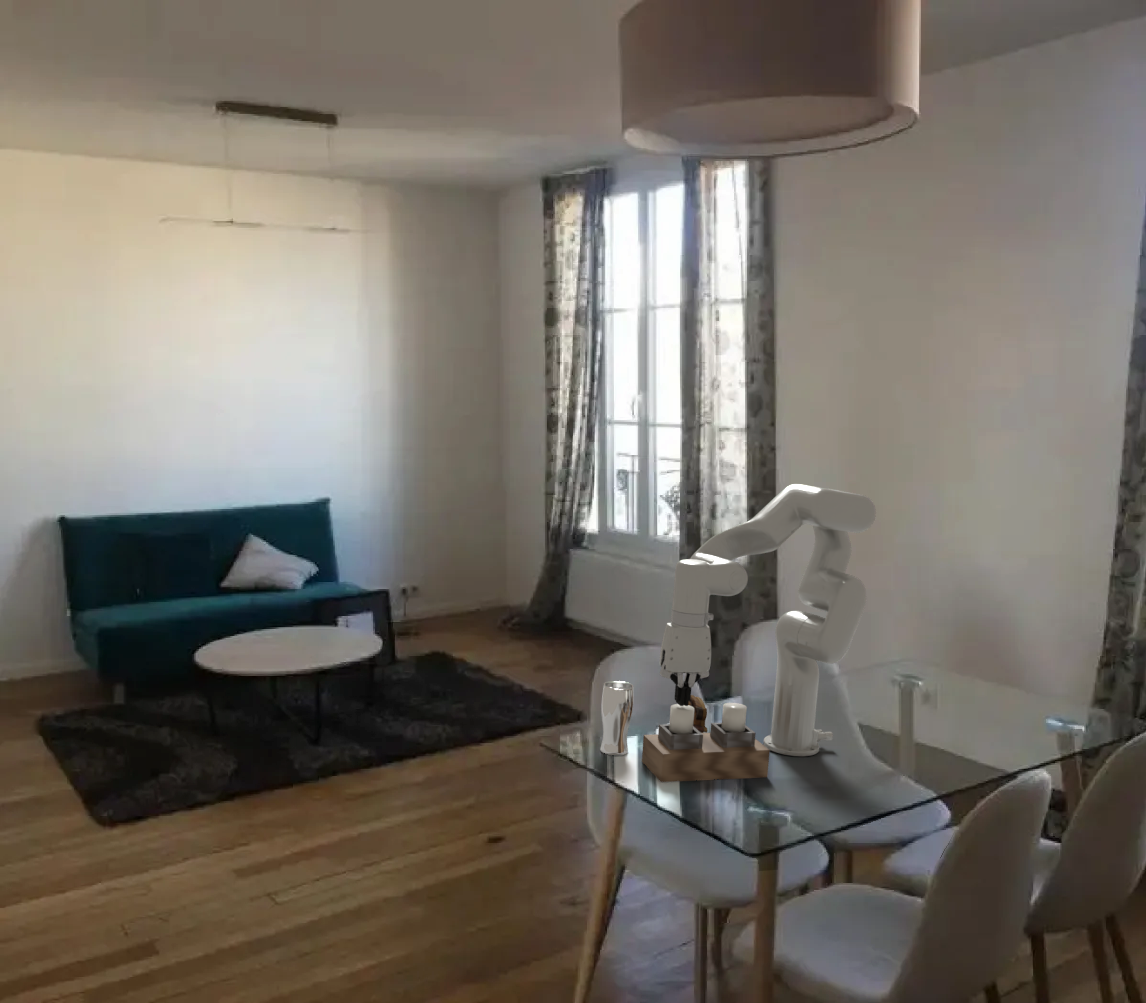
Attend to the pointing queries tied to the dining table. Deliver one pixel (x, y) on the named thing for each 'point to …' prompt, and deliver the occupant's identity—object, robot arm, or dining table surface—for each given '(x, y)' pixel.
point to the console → (705, 755)
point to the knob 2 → (734, 717)
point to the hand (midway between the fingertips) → (681, 703)
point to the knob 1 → (681, 719)
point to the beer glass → (616, 716)
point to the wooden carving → (698, 713)
